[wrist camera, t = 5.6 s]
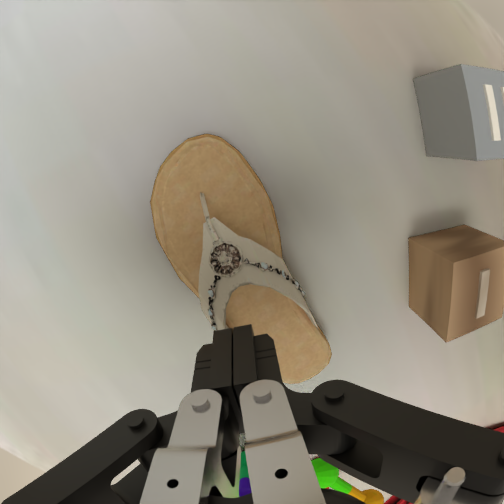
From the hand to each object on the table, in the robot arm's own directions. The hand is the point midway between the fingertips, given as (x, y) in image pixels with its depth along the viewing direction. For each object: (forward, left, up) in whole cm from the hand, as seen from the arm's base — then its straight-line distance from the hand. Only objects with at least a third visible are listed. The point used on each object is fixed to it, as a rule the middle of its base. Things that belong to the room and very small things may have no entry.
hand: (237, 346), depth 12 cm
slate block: (-16, -8, -7) cm, 19 cm away
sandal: (-1, -1, -7) cm, 7 cm away
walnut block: (-14, +2, -7) cm, 15 cm away
